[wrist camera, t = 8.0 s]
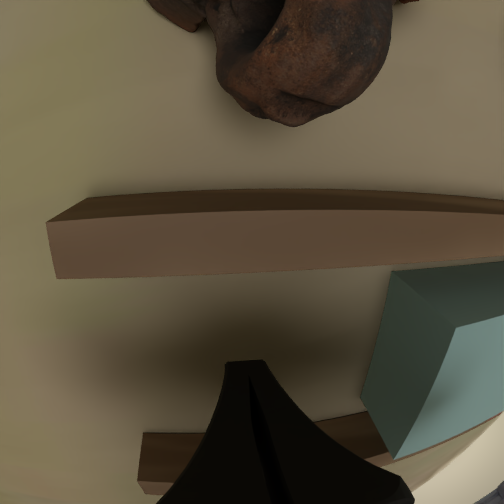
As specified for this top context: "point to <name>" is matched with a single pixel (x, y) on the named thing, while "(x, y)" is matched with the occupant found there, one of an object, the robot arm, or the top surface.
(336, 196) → the guide channel
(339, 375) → the top surface
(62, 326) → the top surface
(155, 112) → the top surface
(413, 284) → the block
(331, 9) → the pottery mug
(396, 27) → the top surface
